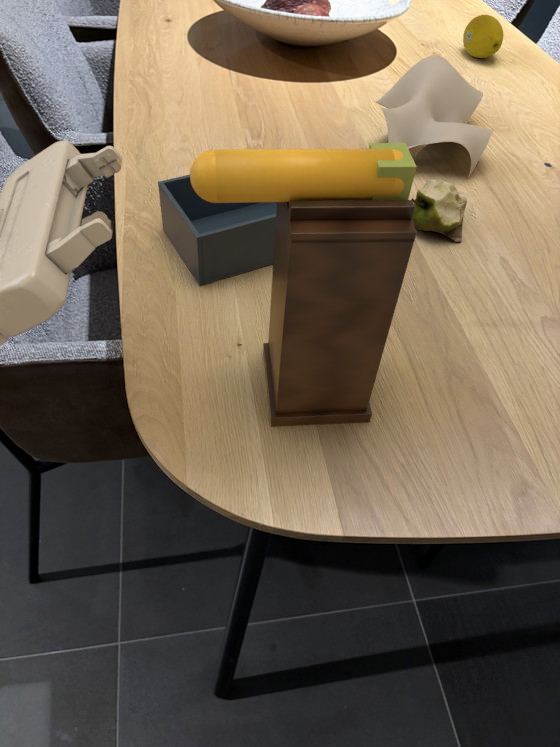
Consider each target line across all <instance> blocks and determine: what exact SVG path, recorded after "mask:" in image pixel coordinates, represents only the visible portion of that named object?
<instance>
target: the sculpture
mask: <svg viewBox="0 0 560 747" xmlns="http://www.w3.org/2000/svg"><path fill="white" fill-rule="evenodd" d="M483 97H484V92H482V91H480V90H479V89H477V88H475V87H474V86H473V85H472V84H471V83H469V82H468V81H467V80H466V79H465V78H464V77H463V76H462V74H460V73H459V71H458V70H457V69H456V68H455V67H454V66H453V65H452V64H451V63H450V62H449V61H448V60H447V58H445V57H444V56H441V55H438V54H437V55H436V54H435V55H429V56H426V57H424V58H422V59H420V60H419V61H417V62H416V63H415V64H413V65H412V66H411V67H410V68H409V69H408V70H407V71H406V72H405V73H404V74H403V75H402V76H401V77H400V78H399V79H398V80H397V81H396V82H395V83H394V85H393V86H391V87H390V89H389V90H388V91H387V92H386V93H385V94H384V95H383V96H381V97H380V98H379V99H378V100H376V101H375V103H377V104H379V105H382V106H383V107H380V109H381V111H382V113H383V116H384V119H385V123H386V128H387V138H388V141H387V143H406V145H407V147H408V150H409V152H410V154H411V156H412V158H413V160H414V158H415V157H416V156H417V155H418V154H419V153H420V152H421V151H422V150H423V149H424V148H425V147H427V146H428V145H431V144H437V143H438V144H439V143H449V142H450V143H457V144H460V145H461V146H463V147H464V148H465V149H466V150H467V152H468V154H469V157H470V171H469V174H468V176H467V179H469V178H470V177H471V175H472V173H473V172H474V170H475V168H476V166H477V165H478V162H479V161H480V159H481V157H482V156H483V153H484V152H485V150H486V148H487V146H488V144H489V142H490V141H491V138H492V135H493V129H491V128H486V127H482V126H479V125H475V124H470V123H468V122H469V120H470V119H471V117H472V116H473V114H474V113H475V111H476V110H477V108H478V107H479V105H480V104H481V101H482V99H483ZM384 107H385V108H384Z"/></svg>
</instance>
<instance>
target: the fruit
mask: <svg viewBox="0 0 560 747" xmlns="http://www.w3.org/2000/svg"><path fill="white" fill-rule="evenodd" d="M459 193H460V192H459V191H458V189H457V187H456V185H455V184H453V183H450V182H447V181H443V182H442V181H438V180H437V179H435V178H432V179H428V180H426V181H425V183H424V184H423V188H419V189H417V191H416V196H415V198H413V197H412V198H411V199H410V200H412V201H413V203H414V206H415V209H414V212H413V216H412V221H413V224H414V226H415V229H417V230H419V231H422V232H424V231H432V232H436V233H440V234H443V235H445V236H446V237H448V239H451V240H452V241H454V242H456V243H462V242H463V222H464V216H465V212H466V208H467V204H468V200H467V198H466V197H463V196H460V195H459Z"/></svg>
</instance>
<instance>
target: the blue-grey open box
mask: <svg viewBox="0 0 560 747" xmlns="http://www.w3.org/2000/svg"><path fill="white" fill-rule="evenodd" d="M157 186H158V193H159V194H158V196H159V203H160V204H159V205H160V213H161V214H160V215H161V222H162V223H161V224H162V231H163V232H164V234H165V235H166V237H167V238H168V240H169V241H170V243H171V244H172V246H173V247H174V249H175V250H176V252H177V254H178V255H179V257H180V258H181V260H182V262H184V264H185V265H186V267H187V269H188V270H189V272H190V274H191V275H192V277H193V278H194V279H195V281H196V282H197V284H198V286H200V287H201V286H205V285H208V284H212V283H214V282H218V281H221V280H224V279H228V278H232V277H234V276H237V275H241V274H244V273H248V272H252V271H254V270H259V269H261V268H264V267H268V266H273V259H274V243H275V227H276V211H277V202H247V203H212V202H208V201H206V200H204V199H202V198H201V197H200V196H198V194H197V193H196V192H195V191H194V189H193V187H192V184H191V180H190V174H185V175H181V176H178V177H177V176H176V177H173V178H169V179H168V178H167V179H164V180H159V181H157Z"/></svg>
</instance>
